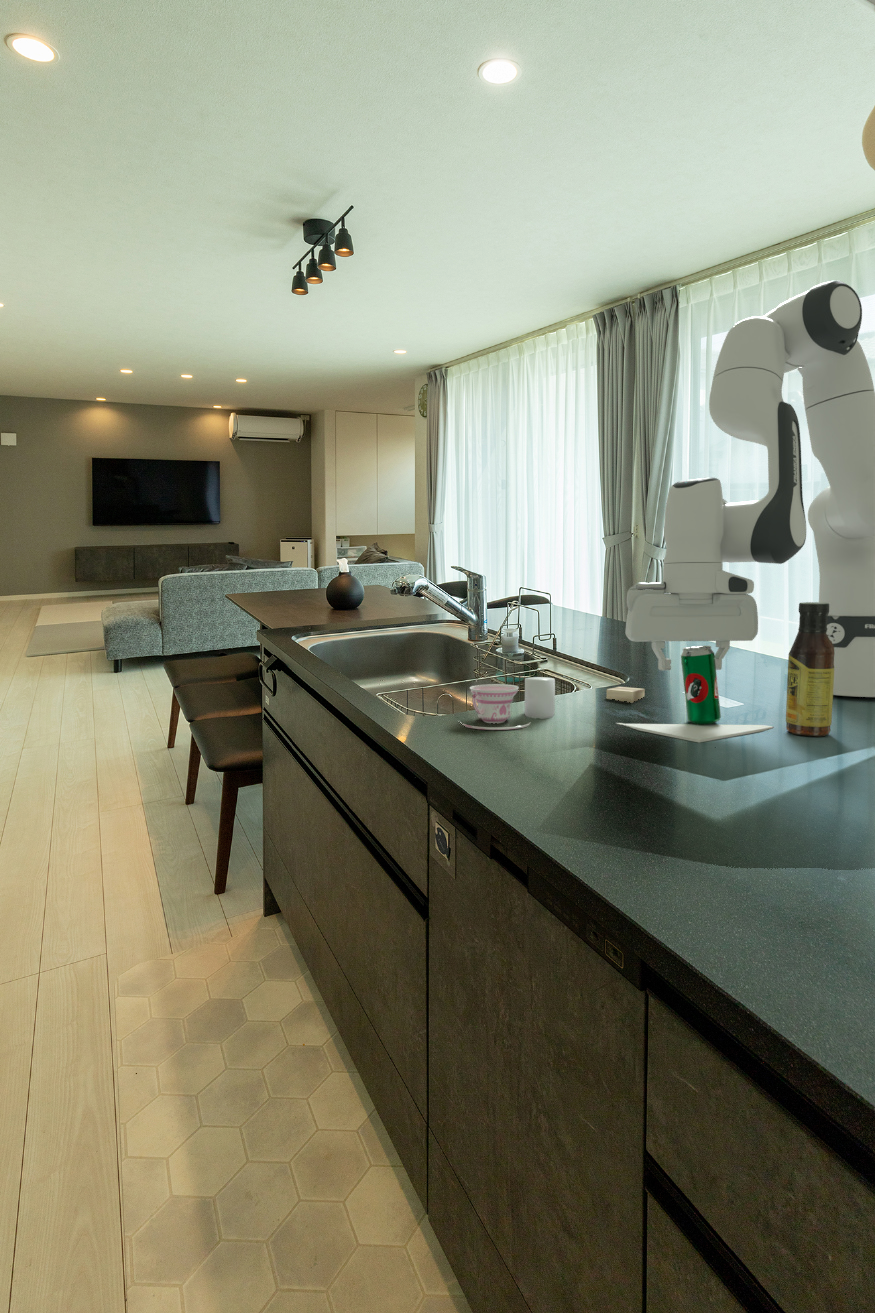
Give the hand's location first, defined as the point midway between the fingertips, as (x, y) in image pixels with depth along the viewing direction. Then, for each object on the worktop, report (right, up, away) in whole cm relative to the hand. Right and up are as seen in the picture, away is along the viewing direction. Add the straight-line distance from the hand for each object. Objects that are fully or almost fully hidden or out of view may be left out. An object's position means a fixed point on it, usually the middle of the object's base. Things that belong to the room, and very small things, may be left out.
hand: (689, 669), depth 117 cm
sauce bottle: (+16, -10, -5) cm, 20 cm away
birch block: (-6, -8, +17) cm, 20 cm away
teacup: (-31, -9, +4) cm, 32 cm away
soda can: (+3, -9, +1) cm, 9 cm away
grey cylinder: (-23, -9, +7) cm, 25 cm away
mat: (0, -9, +1) cm, 9 cm away
